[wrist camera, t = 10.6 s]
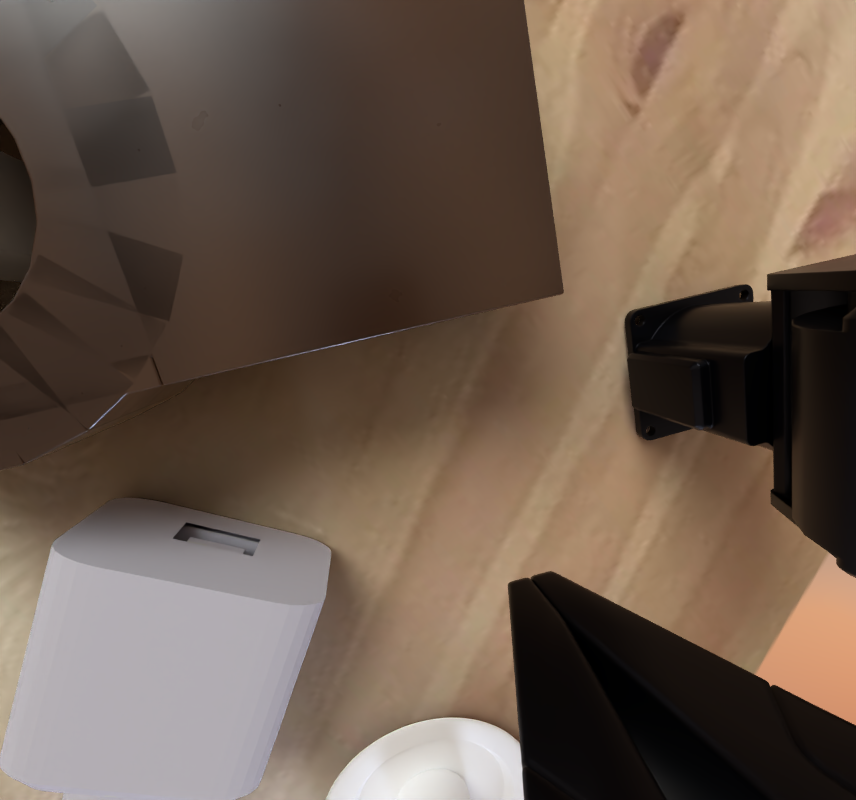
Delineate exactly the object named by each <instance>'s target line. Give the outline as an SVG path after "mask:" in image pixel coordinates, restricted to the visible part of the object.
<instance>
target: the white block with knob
mask: <svg viewBox="0 0 856 800" xmlns="http://www.w3.org/2000/svg"><path fill="white" fill-rule="evenodd" d="M36 225H37V222H36V214H35V206H34V198H33V191H32V183H31V179H30V177H29V174H28V172H27V169H26V167H25V164H24V162H23V161H21V160H19V159H17V158H14V157H12V156H10V155H8V154H6V153H4V152H1V151H0V280H5V281H14V282H22V281H23V279H24V277H25V275H26V273H27V272H28V270H29V268H30V262H31V256H32V250H33V243H34V237H35V231H36Z"/></svg>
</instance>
